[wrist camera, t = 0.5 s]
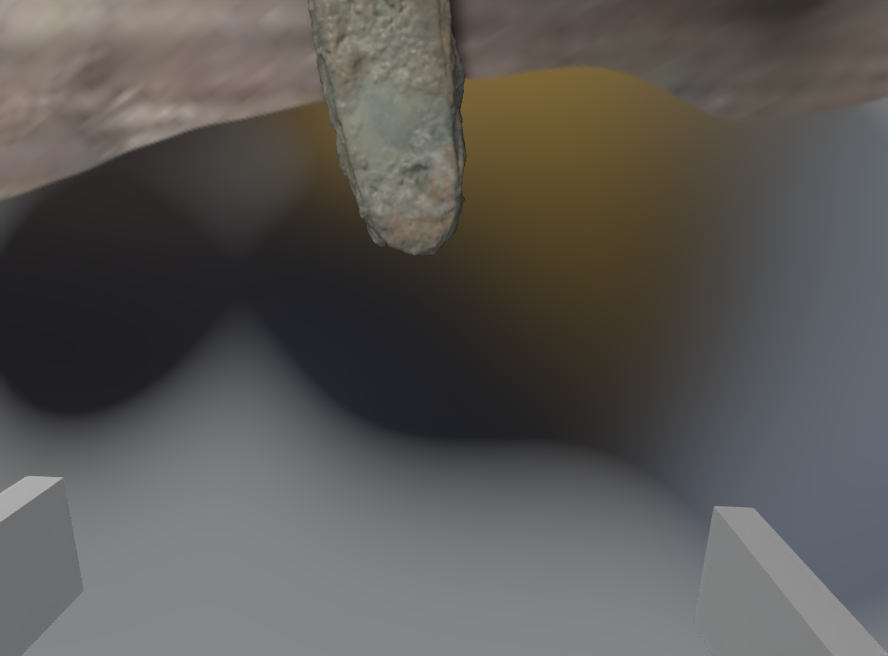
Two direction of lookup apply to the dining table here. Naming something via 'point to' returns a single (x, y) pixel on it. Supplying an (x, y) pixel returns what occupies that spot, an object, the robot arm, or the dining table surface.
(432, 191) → the long grey stone
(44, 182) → the dining table surface
